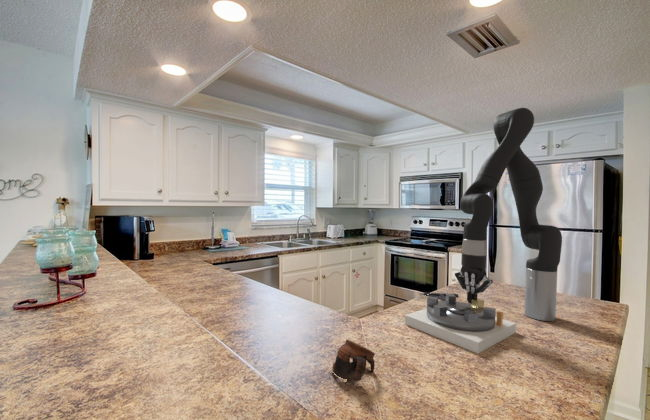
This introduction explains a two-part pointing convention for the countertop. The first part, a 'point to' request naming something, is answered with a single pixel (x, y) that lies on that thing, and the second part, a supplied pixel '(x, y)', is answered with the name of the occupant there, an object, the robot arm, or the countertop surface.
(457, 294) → the bracket
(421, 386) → the countertop surface
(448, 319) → the shallow round grey dish
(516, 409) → the countertop surface
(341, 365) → the pottery mug
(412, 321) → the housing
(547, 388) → the countertop surface
